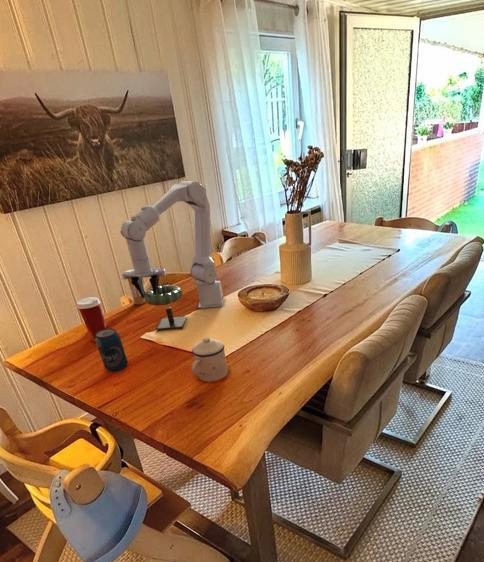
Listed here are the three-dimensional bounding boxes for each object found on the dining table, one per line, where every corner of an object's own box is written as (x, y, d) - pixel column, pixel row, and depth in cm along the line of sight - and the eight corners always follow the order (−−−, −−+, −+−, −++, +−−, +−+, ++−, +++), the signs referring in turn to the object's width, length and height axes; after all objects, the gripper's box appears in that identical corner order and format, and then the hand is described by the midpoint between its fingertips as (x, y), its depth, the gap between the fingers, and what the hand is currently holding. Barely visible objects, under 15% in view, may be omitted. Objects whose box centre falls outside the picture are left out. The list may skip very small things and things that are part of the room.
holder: (186, 318, 161) (183, 302, 157) (182, 329, 153) (178, 311, 149) (162, 320, 161) (158, 304, 157) (157, 331, 153) (153, 314, 150)
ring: (185, 291, 159) (183, 282, 157) (179, 305, 148) (177, 295, 146) (150, 294, 159) (148, 285, 157) (141, 308, 148) (138, 298, 146)
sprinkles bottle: (147, 302, 178) (138, 270, 170) (136, 305, 176) (127, 273, 168) (143, 299, 181) (134, 268, 173) (132, 302, 179) (123, 270, 172)
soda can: (106, 375, 129) (93, 339, 122) (105, 365, 134) (92, 330, 128) (130, 369, 131) (118, 333, 124) (127, 360, 136) (116, 325, 130)
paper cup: (116, 334, 154) (104, 296, 146) (102, 344, 148) (88, 305, 140) (98, 332, 156) (85, 295, 148) (84, 342, 150) (69, 304, 142)
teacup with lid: (211, 364, 130) (204, 328, 124) (235, 370, 126) (229, 334, 119) (184, 383, 122) (175, 346, 115) (208, 390, 118) (200, 353, 111)
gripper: (115, 264, 142) (127, 303, 149) (158, 260, 141) (168, 299, 149) (121, 257, 148) (132, 295, 155) (163, 254, 147) (172, 292, 155)
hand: (150, 297), depth 153 cm, fingers closed on ring, 4 cm apart
